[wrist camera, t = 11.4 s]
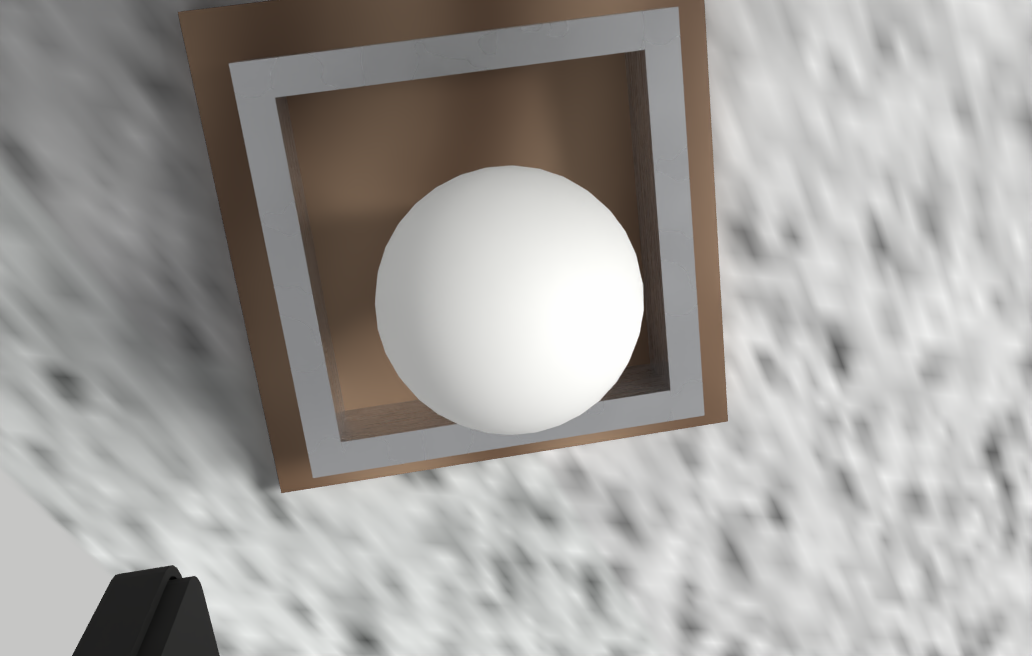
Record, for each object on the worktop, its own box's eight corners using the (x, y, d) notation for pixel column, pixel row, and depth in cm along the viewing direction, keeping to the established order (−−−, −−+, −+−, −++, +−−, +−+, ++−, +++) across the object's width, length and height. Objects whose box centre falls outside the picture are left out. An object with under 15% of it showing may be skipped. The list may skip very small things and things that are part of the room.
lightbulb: (482, 88, 28) (537, 120, 18) (615, 234, 30) (736, 340, 20) (335, 231, 29) (307, 342, 19) (474, 365, 31) (520, 535, 21)
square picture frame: (654, 8, 28) (678, 6, 26) (681, 386, 32) (704, 415, 30) (243, 60, 27) (228, 63, 25) (319, 444, 31) (313, 478, 29)
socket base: (691, -50, 29) (701, -52, 28) (718, 410, 34) (727, 421, 33) (185, 12, 28) (177, 11, 27) (284, 479, 32) (281, 492, 31)
